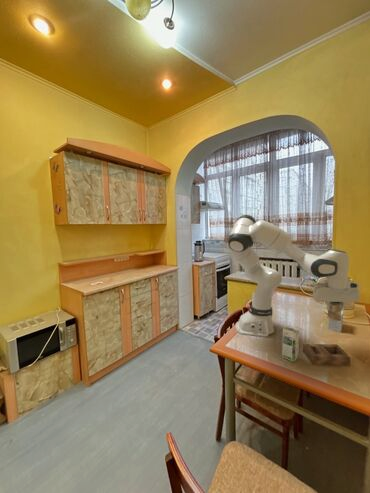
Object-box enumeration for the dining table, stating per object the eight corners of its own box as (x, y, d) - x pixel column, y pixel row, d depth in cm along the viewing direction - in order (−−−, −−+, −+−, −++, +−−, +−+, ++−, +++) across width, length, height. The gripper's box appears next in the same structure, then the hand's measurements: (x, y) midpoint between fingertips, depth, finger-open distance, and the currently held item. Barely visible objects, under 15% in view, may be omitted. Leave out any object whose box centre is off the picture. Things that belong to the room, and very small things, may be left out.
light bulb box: (329, 322, 138) (330, 306, 137) (342, 325, 134) (344, 308, 133) (327, 329, 130) (328, 312, 129) (341, 332, 126) (342, 315, 125)
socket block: (312, 364, 101) (312, 356, 100) (302, 351, 110) (303, 343, 110) (349, 365, 99) (350, 357, 98) (336, 351, 109) (337, 344, 108)
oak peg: (332, 320, 107) (333, 303, 106) (327, 317, 111) (328, 300, 110) (340, 320, 107) (342, 303, 106) (335, 317, 111) (336, 300, 110)
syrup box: (281, 357, 106) (282, 329, 104) (286, 351, 110) (287, 324, 108) (294, 362, 102) (295, 333, 100) (298, 356, 106) (299, 328, 104)
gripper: (317, 284, 104) (316, 312, 106) (363, 284, 103) (360, 312, 104) (310, 280, 110) (309, 307, 112) (353, 280, 109) (351, 307, 111)
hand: (334, 309), depth 108 cm, fingers closed on oak peg, 4 cm apart
